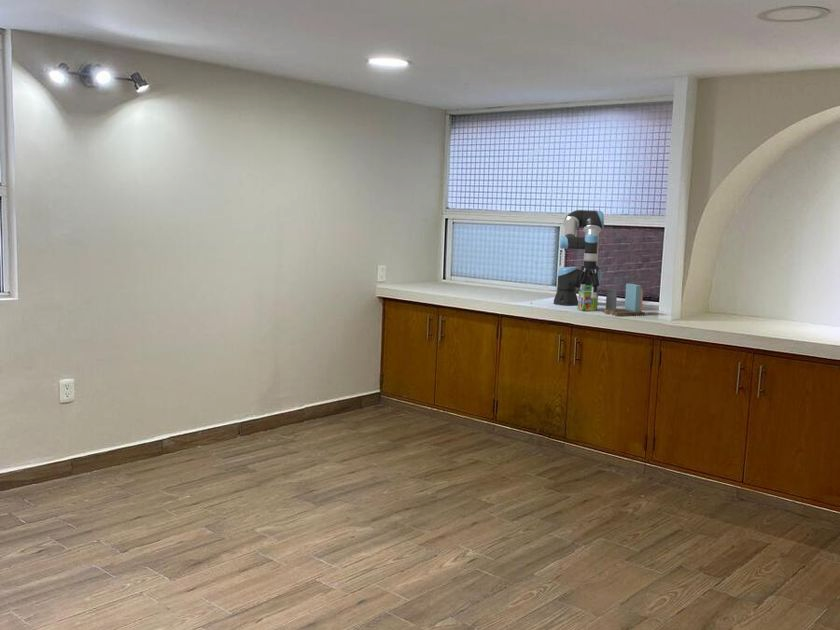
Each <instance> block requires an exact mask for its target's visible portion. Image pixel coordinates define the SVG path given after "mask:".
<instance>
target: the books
mask: <svg viewBox="0 0 840 630" xmlns="http://www.w3.org/2000/svg"><path fill="white" fill-rule="evenodd" d="M643 295H644V289H643V288H642V285H640V284H635V283H626V284H625V298H624V309H626V310H630V311H633V312H643V311H642V310H643V297H644V296H643Z"/></svg>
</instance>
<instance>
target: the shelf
mask: <svg viewBox="0 0 840 630" xmlns="http://www.w3.org/2000/svg"><path fill="white" fill-rule="evenodd" d="M603 312H605V313H604V314H607V313H608V314H607V315H610V314H612V315H611V316H614V315H615V316H614V317H645V316H644V315H646V313H645V311H642V312H633V311H630V310H626V309H625V308H616V312H613V311H609V310H606V308H602V313H603ZM634 315H635V316H634ZM636 315H637V316H636ZM638 315H639V316H638ZM640 315H641V316H640ZM642 315H643V316H642Z"/></svg>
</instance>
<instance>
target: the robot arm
mask: <svg viewBox="0 0 840 630" xmlns="http://www.w3.org/2000/svg"><path fill="white" fill-rule="evenodd" d="M563 226H564V234H563V235H562V236H560V239H559V240H560V241H559V248H560V249H562V250H563V249H564V250H583V261H582V262H583V264H582V265H581V266H580V268H578V267H577V266H564V267H560V268H559V269H558V271H557V282H556V283H557V286H556V287H557V288H556V293H555V295H554V299H553V305H558V304H559V306H578V296H577V289H580V290H585V285H591V286H592V298H596V294H597V292H598V288H599V287H600V285H601V281H602V273H603V271H602V269H601V267H600V266H599V265H598V260H599V259H598V258H599V257H598V256H599V238H600V237H599V236H600V233H601V232H602V230H604V228H605V217H604V213H603V211H602V210H595V209H594V210H592V209H591V210H589V209H588V210H587V209H577V210H574V211H571V212H570V213H568V214H567V215H566V216H565V218H564V220H563ZM578 229H582V231H583V233H584V236H577V235H578ZM587 289H590V288H589V287H587Z"/></svg>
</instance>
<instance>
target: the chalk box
mask: <svg viewBox="0 0 840 630" xmlns="http://www.w3.org/2000/svg"><path fill="white" fill-rule="evenodd" d="M587 287H589V288H587ZM577 299H578V305H577V310H578V309H579V310H580V311H582V312H598V304H599V303H598V302H599V291H597V294H596V298H592V286H591V285H585V290H581V289H580V290H578V296H577Z"/></svg>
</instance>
